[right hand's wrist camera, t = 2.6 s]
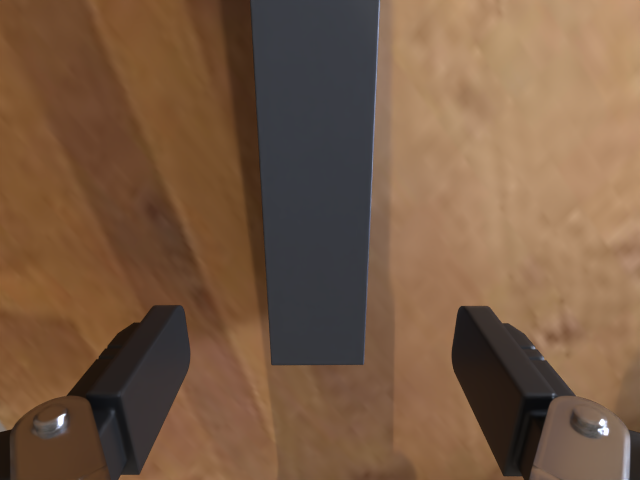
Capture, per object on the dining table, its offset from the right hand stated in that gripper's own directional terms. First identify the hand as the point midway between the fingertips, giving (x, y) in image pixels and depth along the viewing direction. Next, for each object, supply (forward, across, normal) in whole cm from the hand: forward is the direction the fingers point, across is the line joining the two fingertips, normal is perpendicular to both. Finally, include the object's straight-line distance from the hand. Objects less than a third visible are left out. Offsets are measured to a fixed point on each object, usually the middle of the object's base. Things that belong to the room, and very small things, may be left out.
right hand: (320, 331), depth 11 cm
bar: (+14, 0, -24) cm, 28 cm away
